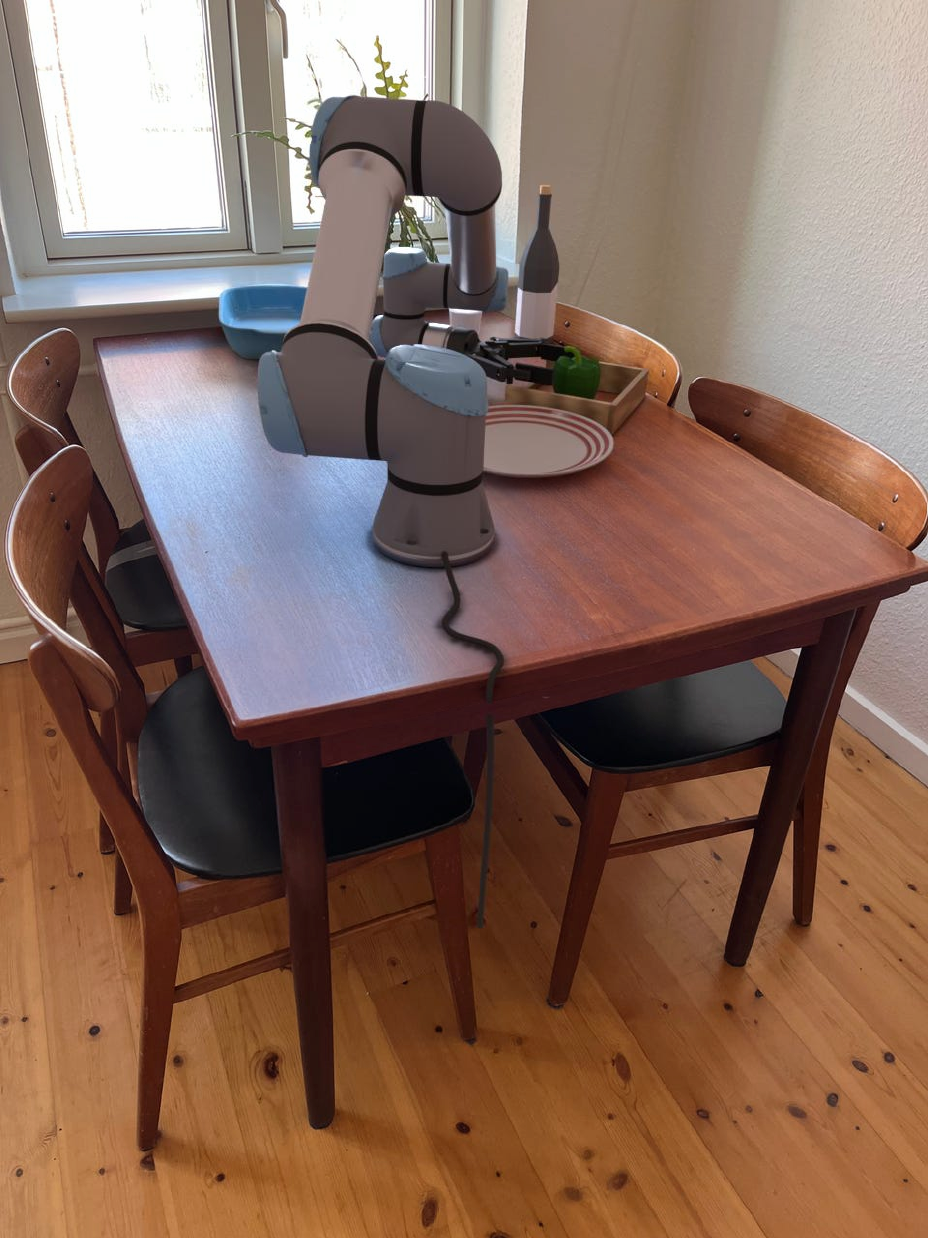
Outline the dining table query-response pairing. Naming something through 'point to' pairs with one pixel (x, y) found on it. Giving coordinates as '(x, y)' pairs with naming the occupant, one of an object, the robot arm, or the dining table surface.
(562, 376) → the bell pepper
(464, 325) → the white cup
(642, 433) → the dining table surface
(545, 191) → the wine bottle
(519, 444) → the dinner plate
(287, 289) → the casserole dish
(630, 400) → the crate
